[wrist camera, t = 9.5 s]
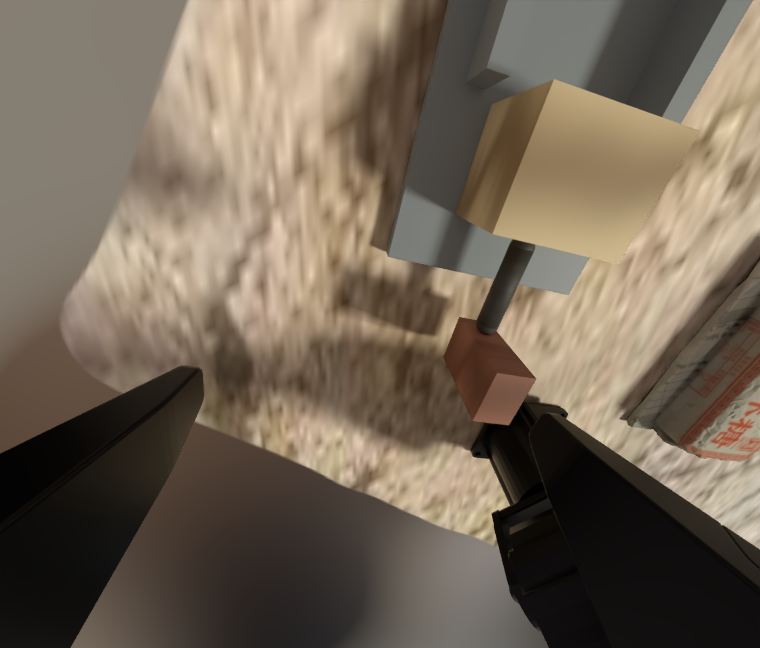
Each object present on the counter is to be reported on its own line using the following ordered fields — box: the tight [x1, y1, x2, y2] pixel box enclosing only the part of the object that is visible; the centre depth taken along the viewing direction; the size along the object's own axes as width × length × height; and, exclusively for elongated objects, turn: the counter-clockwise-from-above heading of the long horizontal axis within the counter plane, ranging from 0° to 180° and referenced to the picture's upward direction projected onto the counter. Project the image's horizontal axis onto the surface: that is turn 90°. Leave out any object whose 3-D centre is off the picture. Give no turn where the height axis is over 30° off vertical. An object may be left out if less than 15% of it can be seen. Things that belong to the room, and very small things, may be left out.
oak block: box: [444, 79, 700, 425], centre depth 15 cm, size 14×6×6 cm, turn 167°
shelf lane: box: [387, 0, 753, 295], centre depth 13 cm, size 20×12×4 cm, turn 167°
